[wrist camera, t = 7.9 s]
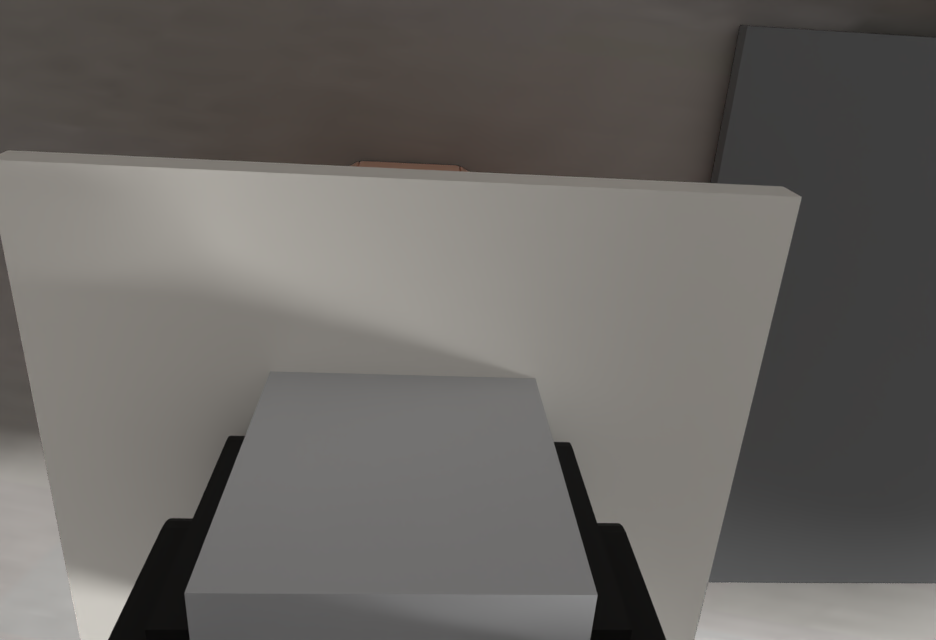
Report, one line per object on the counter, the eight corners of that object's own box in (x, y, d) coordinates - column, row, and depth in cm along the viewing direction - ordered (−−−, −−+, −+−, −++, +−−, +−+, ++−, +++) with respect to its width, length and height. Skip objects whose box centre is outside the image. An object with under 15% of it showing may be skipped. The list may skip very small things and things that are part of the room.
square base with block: (783, 186, 11) (1038, 331, 7) (662, 710, 16) (763, 1017, 11) (8, 150, 10) (-327, 288, 6) (112, 714, 15) (-29, 1048, 10)
